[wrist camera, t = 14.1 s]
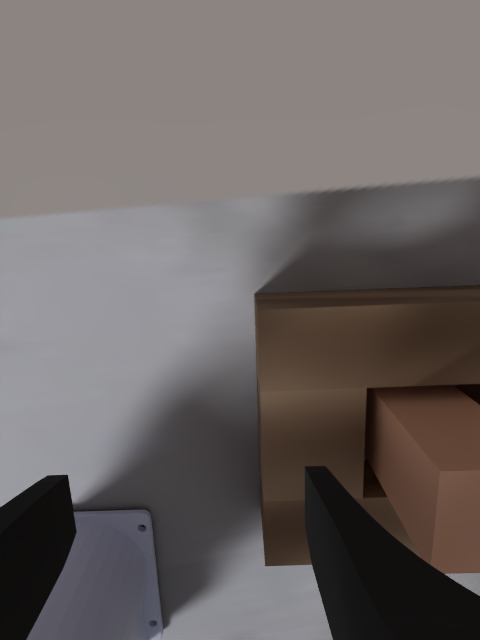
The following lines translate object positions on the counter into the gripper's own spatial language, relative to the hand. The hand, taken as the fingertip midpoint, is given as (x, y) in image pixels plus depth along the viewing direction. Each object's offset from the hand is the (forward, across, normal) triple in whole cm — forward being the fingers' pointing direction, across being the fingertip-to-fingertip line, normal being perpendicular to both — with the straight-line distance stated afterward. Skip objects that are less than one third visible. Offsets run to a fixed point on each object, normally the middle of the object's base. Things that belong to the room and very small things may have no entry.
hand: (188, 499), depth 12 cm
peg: (+9, -10, +2) cm, 14 cm away
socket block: (+10, -10, +2) cm, 14 cm away
